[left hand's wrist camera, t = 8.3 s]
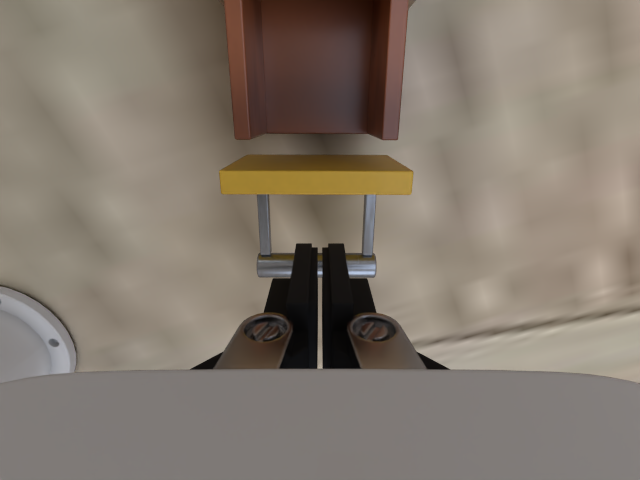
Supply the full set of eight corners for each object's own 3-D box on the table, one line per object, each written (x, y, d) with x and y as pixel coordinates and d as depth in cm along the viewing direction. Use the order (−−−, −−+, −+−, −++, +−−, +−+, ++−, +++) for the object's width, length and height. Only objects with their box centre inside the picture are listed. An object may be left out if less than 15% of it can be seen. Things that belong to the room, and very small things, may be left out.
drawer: (381, 249, 26) (402, 294, 19) (253, 248, 26) (230, 294, 19) (412, -202, 17) (467, -389, 11) (222, -202, 17) (164, -392, 11)
